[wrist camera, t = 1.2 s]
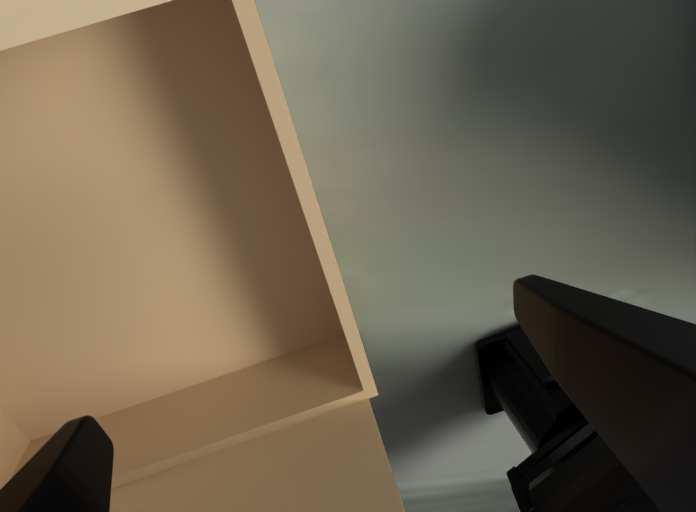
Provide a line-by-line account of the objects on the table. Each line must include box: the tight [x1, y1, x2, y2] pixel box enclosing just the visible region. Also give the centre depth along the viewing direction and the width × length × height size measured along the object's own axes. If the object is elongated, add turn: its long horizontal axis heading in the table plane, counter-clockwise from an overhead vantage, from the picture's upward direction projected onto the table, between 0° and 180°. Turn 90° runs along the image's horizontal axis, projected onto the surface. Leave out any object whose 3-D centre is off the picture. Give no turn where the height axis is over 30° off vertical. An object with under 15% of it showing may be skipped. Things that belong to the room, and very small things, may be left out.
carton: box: [0, 0, 378, 489], centre depth 18 cm, size 19×19×5 cm
